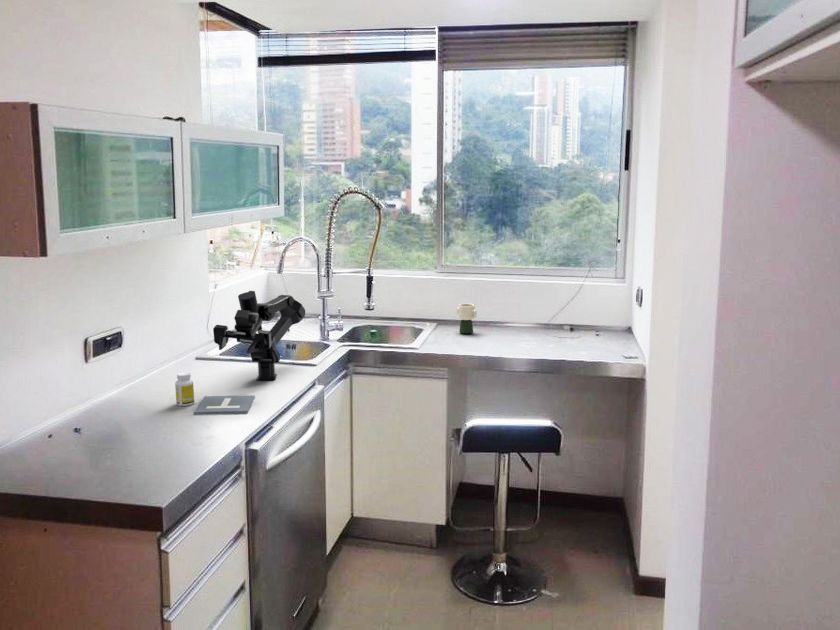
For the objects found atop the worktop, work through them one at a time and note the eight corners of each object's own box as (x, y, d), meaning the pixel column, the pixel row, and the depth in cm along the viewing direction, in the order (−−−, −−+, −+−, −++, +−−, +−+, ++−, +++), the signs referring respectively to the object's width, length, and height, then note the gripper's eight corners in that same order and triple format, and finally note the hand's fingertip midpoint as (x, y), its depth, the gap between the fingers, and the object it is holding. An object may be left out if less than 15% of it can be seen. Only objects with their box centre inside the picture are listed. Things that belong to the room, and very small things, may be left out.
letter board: (204, 398, 248) (204, 396, 248) (254, 397, 249) (254, 394, 249) (194, 414, 232) (193, 411, 232) (247, 413, 233) (247, 410, 233)
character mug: (480, 333, 343) (481, 305, 340) (471, 336, 338) (471, 307, 335) (461, 330, 350) (461, 302, 347) (451, 332, 345) (452, 304, 342)
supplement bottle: (197, 402, 244) (196, 372, 242) (188, 407, 239) (186, 376, 237) (182, 400, 246) (181, 371, 244) (172, 405, 241) (171, 375, 239)
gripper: (221, 301, 254) (203, 325, 240) (275, 308, 252) (260, 332, 238) (223, 330, 259) (205, 355, 246) (277, 337, 257) (262, 362, 244)
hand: (233, 350), depth 243 cm, fingers open, 9 cm apart
